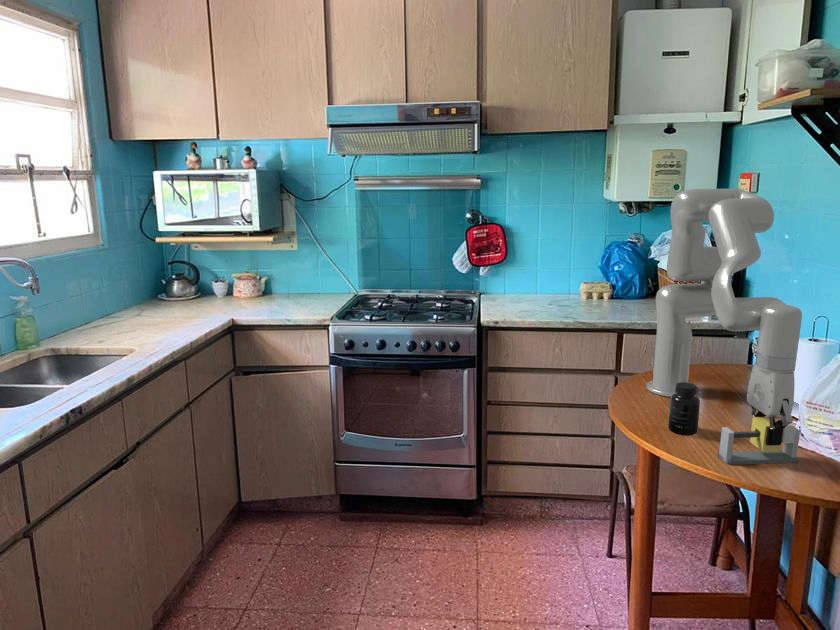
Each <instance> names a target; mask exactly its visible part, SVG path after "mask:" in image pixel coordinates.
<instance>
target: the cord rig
mask: <svg viewBox="0 0 840 630" xmlns="http://www.w3.org/2000/svg"><path fill="white" fill-rule="evenodd" d="M760 433H761V432H760V431H746V430H745V431H733V430H731V429H730V428H729V427H726V426H725V427H724V426H722V427H721V434H720V443H719V444H720V445H719V450H718V452H717V454H716V455H717V456H718V458H720V460H721V461H723V463H725V464H726V465H755V464H783V463H784V464H785V463H789V464H790V463H799V458H798V457H797V456H798V450H799V449H798V448H799V443H800V437H801V436H800V434H801V430H799V428H797V427H795V426H793V425H792V424H791V425H790V424H789V425H787V426H786V427H785V429H783V435H782V442H781V444H783V449H782V450H781V449H780V451H767V452H762V451H761V450H749V451H747V450H746V451H743V450H742V451H733V448H734V441H735V440H734V439H736V438H737V439H743V438H745V439H748V438H749V439H750V437H760Z"/></svg>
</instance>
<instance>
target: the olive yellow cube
mask: <svg viewBox="0 0 840 630" xmlns="http://www.w3.org/2000/svg"><path fill="white" fill-rule="evenodd" d="M777 421H778V420H776V419H775V422H777ZM767 428H770V420H769V417H768V416H765V417H753V416H752V420H751V428H750V430H751V431H760V432H761V433H760V437H750V438H749V442H750V444H752V445H753V446H754V447H756V448H757V449H759V451H762V452H767V451H780V450H781V448H782V444H781V445H771V446H768V445H766V436H767Z"/></svg>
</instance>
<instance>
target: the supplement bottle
mask: <svg viewBox="0 0 840 630" xmlns="http://www.w3.org/2000/svg"><path fill="white" fill-rule="evenodd" d="M697 388H698V387H697V385H696V384H694V383H691V382H688V383H685V382H681V383H677V384H676V388H675V392H676V393H674V394H673V395H672V396H671V397H669V398H670V399H669V401H670V402H669V411H668V430H669V431H670V432H671V433H673V434H676V435H679V436H685V437H686V436H687V437H688V436H693V435H695V434H697V433H698V431H699V419H700V418H699V417H700V408H701V407H700V406H701V399H700V398H699V397H698V395H697V393H698V391H697V390H698V389H697Z"/></svg>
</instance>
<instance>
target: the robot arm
mask: <svg viewBox="0 0 840 630" xmlns="http://www.w3.org/2000/svg"><path fill="white" fill-rule="evenodd" d="M670 221H671V222H670V223H671V236H670V242H669V248H668V249H669V250H668V255H667V260H666V261H667V262H666V274H667V276H668V278H669V279H671V280H673V281H676V282H700V283H675V284H673V283H672V284H668V285H664V286H662V287H661V288H660V289H658V290H657V292H656V295H655V309H656V337H655V351H654V364H653V371H652V375H653V376H652V377H653V378H652V380H650V381H649V382H647V384H646V389H647V390H648V392H649V391H650V392H651V393H653V394H656V395H657V396H661V397H669V398H671V396H672V395H673V394H674V393H676V392H675V388H676V384H677V383H681V382H685V383H689V375H690V363H691V353H692V345H693V344H692V341H693V332H692V328H691V327H690V326H689V324H688V322H687V321H686V319H687V318H689V319H690V318H705V317H707V318H708V317H712V316H715V315H716V319H717V320H718V322H719V324H720V325H721V326H722V328H724V329H725V330H727V331H730V332H749V331H757V332H758V331H759V332H758V338H757V345H756V346H757V347H756V356H755V362H754V364H753V366H752V370H751V372H750V373H751V374H750V377H749V381H748V387H747V393H746V401H747V403H748V404H749V405H750V406H751V409H752V411H751V416H752V418H753V417H769V420H770V428H767V436H766V445H768V446H771V445H781V446H782V435H783V429H785V427H786V426H787V425H790V424H791V425H792V423H793V422H794V421H793V418H792V416H793V415H792V412H793V408H794V407H793V406H794V401H795V370H796V365H797V356H798V350H799V342H800V335H801V329H802V328H801V327H802V321H803V313H802V311H801V309H800V308H799V307H797V306H794V305H790V304H786V303H785V302H784V301H782V300H781V299H779V298H777V297H773V296H771V297H770V296H766V297H765V296H763V297H762V296H761V297H758V296H755V297H752V296H751V297H735V293H734V290H733V287H732V276H733V274H736V273H737V272H739V271H742V270H744V269H746V268H749V267H750V266H752V265H754V264H755V263H757V262H758V261H759V260H760V258H761V255H762V251H761V248H760V245H759V241H758V240H757V237H756V234H761V233H766V232H768V231H769V230H770V229H771V228H772V226H773V224H774V221H775V212H774V208H773V206H772V205H771V204H770V202H769V201H768V200H767V199H765V198H764V197H761V196H759V195H756V194H754V193H752V192H749V191H747V190H744V189H741V188H692V189H685V190H683V191H680V192H678V193H677V194H676V195H675V196H674V197H673V200H672V201H671V206H670ZM703 223H709V225H710V228H711V232H712V235H713V238H714V242H715V245H716V246H704V245H705V240H706V230H705V227H704V226H703ZM776 418H779V419H778V420H776ZM775 420H776V421H777V422H775Z"/></svg>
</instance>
